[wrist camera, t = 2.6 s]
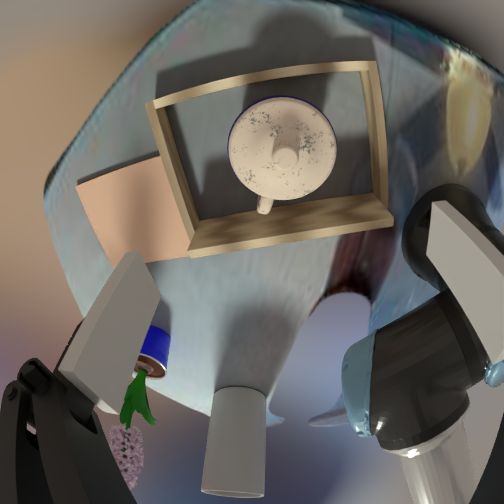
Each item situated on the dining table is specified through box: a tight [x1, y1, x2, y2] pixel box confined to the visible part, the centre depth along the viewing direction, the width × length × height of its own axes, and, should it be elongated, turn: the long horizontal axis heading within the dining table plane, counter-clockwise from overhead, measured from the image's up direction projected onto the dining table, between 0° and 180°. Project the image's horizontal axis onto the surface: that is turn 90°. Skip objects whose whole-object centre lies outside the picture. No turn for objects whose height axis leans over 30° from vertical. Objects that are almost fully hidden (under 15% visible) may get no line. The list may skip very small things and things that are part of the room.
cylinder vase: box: [201, 387, 266, 498], centre depth 50 cm, size 12×12×25 cm
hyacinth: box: [108, 326, 170, 490], centre depth 36 cm, size 9×10×30 cm
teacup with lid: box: [227, 96, 337, 214], centre depth 25 cm, size 12×9×12 cm
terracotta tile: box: [75, 155, 191, 269], centre depth 35 cm, size 14×14×1 cm
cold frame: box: [145, 61, 394, 258], centre depth 27 cm, size 24×17×7 cm
